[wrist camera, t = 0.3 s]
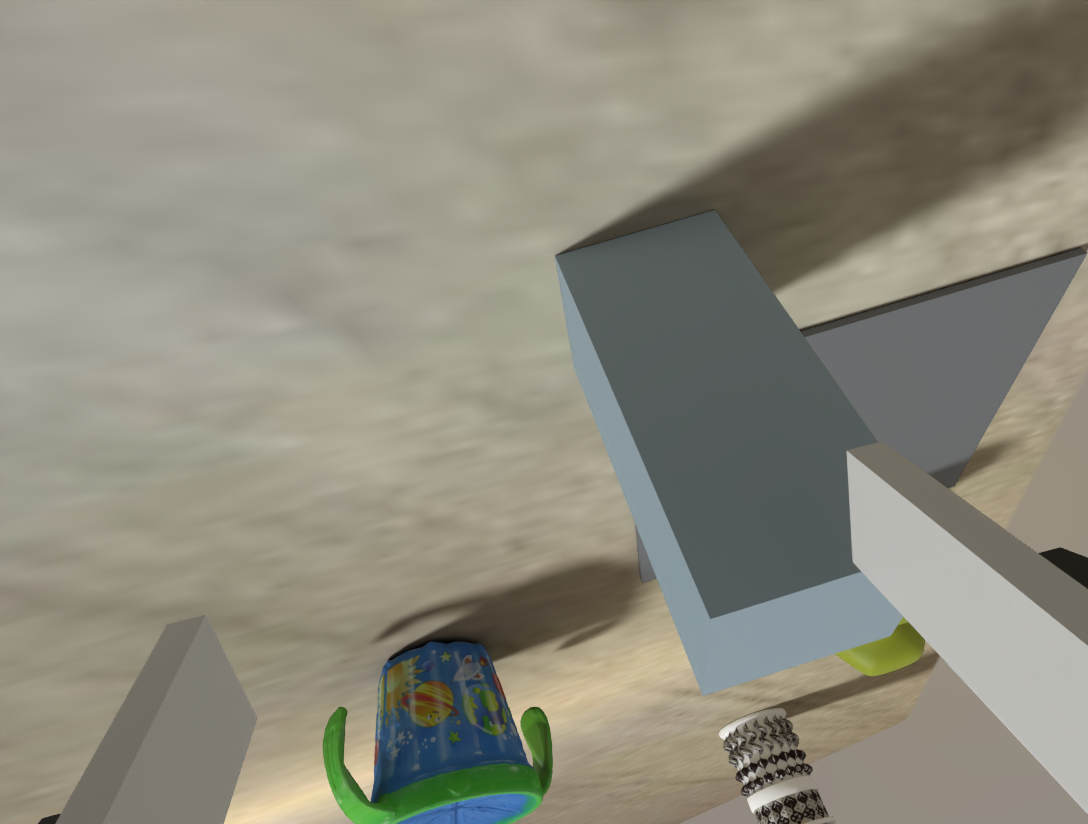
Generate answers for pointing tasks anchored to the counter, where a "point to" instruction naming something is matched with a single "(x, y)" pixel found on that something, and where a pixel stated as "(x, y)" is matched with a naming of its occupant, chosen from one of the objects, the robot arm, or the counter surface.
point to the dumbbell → (887, 651)
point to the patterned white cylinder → (773, 769)
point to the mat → (938, 362)
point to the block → (723, 448)
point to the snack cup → (444, 745)
